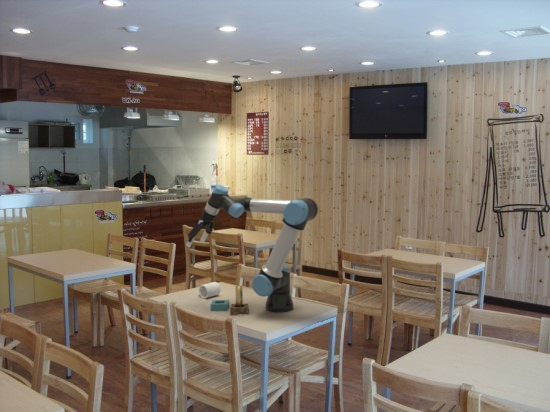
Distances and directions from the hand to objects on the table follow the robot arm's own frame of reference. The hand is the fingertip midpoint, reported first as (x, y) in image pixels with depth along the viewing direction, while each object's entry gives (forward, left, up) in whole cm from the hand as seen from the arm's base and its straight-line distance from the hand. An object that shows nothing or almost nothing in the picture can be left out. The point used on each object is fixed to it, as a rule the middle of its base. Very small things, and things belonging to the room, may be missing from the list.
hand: (194, 244), depth 315 cm
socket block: (-14, +8, -34) cm, 37 cm away
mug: (-4, -19, -34) cm, 39 cm away
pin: (-25, +16, -34) cm, 45 cm away
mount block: (-25, +16, -34) cm, 45 cm away
